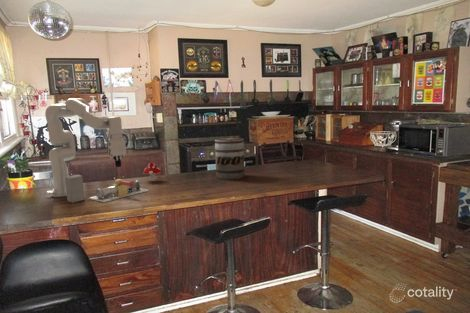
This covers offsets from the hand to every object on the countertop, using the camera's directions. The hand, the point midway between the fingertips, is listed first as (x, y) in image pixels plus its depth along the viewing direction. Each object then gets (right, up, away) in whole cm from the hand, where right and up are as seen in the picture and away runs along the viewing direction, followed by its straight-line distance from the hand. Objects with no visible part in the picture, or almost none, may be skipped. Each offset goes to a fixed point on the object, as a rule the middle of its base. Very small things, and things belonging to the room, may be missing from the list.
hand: (118, 166), depth 222 cm
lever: (+2, -12, +8) cm, 14 cm away
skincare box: (-26, -21, +1) cm, 34 cm away
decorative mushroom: (+9, -13, +54) cm, 56 cm away
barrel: (+68, -10, +62) cm, 93 cm away
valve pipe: (-3, -19, +13) cm, 23 cm away
